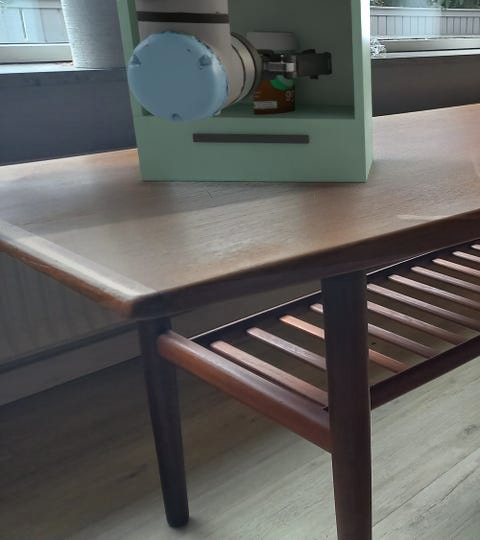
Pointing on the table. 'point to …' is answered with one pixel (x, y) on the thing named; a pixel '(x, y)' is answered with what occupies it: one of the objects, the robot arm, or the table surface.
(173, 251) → the table surface
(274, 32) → the food container
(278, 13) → the mint green cubby cabinet
